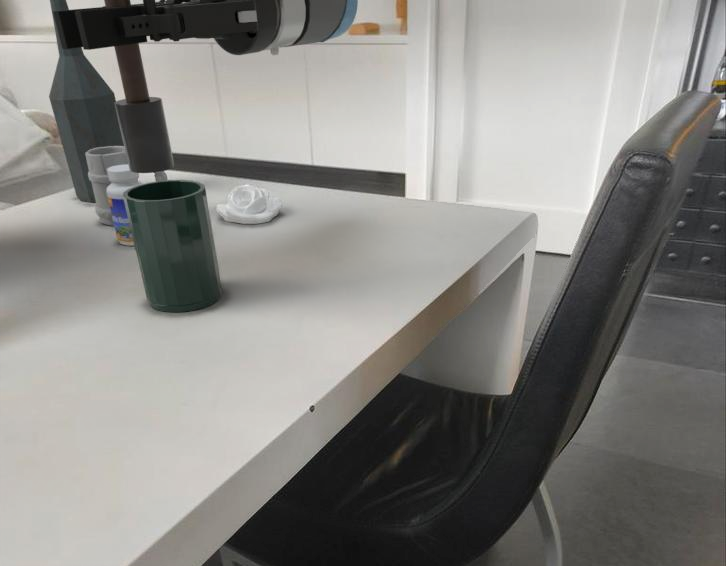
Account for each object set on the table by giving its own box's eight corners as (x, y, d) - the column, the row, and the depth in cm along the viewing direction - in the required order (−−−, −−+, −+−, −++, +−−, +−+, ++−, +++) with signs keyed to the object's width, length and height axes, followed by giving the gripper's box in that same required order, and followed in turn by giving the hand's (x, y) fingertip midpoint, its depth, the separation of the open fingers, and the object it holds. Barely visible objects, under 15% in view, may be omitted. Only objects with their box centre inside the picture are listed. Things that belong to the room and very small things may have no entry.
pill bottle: (110, 242, 98) (91, 169, 92) (139, 232, 101) (123, 161, 95) (136, 248, 95) (118, 174, 89) (165, 237, 99) (150, 165, 93)
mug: (103, 213, 110) (82, 130, 102) (178, 209, 110) (162, 126, 103) (93, 228, 104) (69, 141, 96) (171, 223, 104) (154, 136, 97)
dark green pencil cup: (133, 307, 79) (105, 198, 71) (176, 280, 85) (155, 177, 78) (196, 316, 76) (174, 204, 69) (236, 288, 82) (220, 182, 75)
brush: (120, 171, 68) (58, -91, 56) (147, 161, 71) (94, -88, 59) (157, 174, 66) (101, -94, 54) (182, 164, 70) (136, -92, 58)
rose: (275, 174, 108) (284, 190, 100) (278, 204, 110) (287, 221, 103) (211, 180, 106) (215, 197, 98) (216, 210, 109) (220, 228, 101)
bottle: (141, 186, 123) (96, -21, 105) (131, 201, 115) (80, -20, 97) (83, 189, 122) (27, -18, 104) (69, 204, 115) (6, -17, 96)
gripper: (313, 53, 72) (142, 85, 57) (207, 50, 79) (30, 77, 64) (307, -36, 67) (120, -28, 52) (195, -31, 74) (2, -23, 59)
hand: (71, 30), depth 58 cm, fingers closed on brush, 2 cm apart
